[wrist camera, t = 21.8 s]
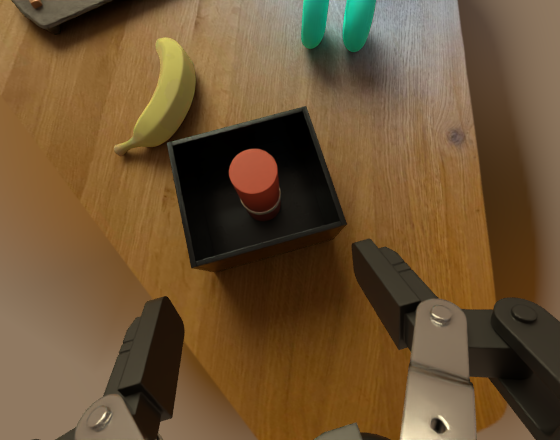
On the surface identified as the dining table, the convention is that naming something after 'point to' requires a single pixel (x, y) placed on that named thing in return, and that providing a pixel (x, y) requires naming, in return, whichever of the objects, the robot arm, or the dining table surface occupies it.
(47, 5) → the serving tray
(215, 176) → the bin
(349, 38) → the green wheel pair
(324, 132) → the dining table surface
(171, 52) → the banana
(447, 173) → the dining table surface
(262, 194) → the striped red cylinder
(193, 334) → the dining table surface
